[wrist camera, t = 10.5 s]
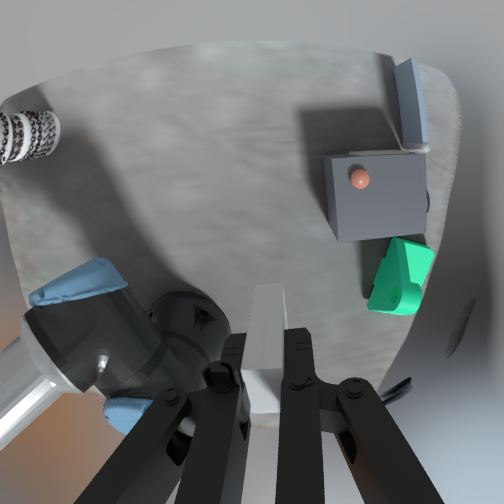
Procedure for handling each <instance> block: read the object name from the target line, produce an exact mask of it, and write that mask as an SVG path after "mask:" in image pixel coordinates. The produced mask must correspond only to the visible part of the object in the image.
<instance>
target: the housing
mask: <svg viewBox="0 0 504 504" xmlns="http://www.w3.org/2000/svg"><path fill="white" fill-rule="evenodd" d="M322 158H323V167H324V176H325V186H326V196H327V207H328V219H329V226H330V228H331V229H332V231H333V233H334V235H335V237H336V239H337V241H338V243H339V242H348V241H357V240H366V239H376V238H385V237H394V236H403V235H412V234H421V233H426V214H427V213H428V211H429V206H430V199H429V194H428V191H427V187H426V161H425V154H420V153H414V152H409V151H402V150H372V151H354V152H349V153H342V154H329V155H322Z"/></svg>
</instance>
